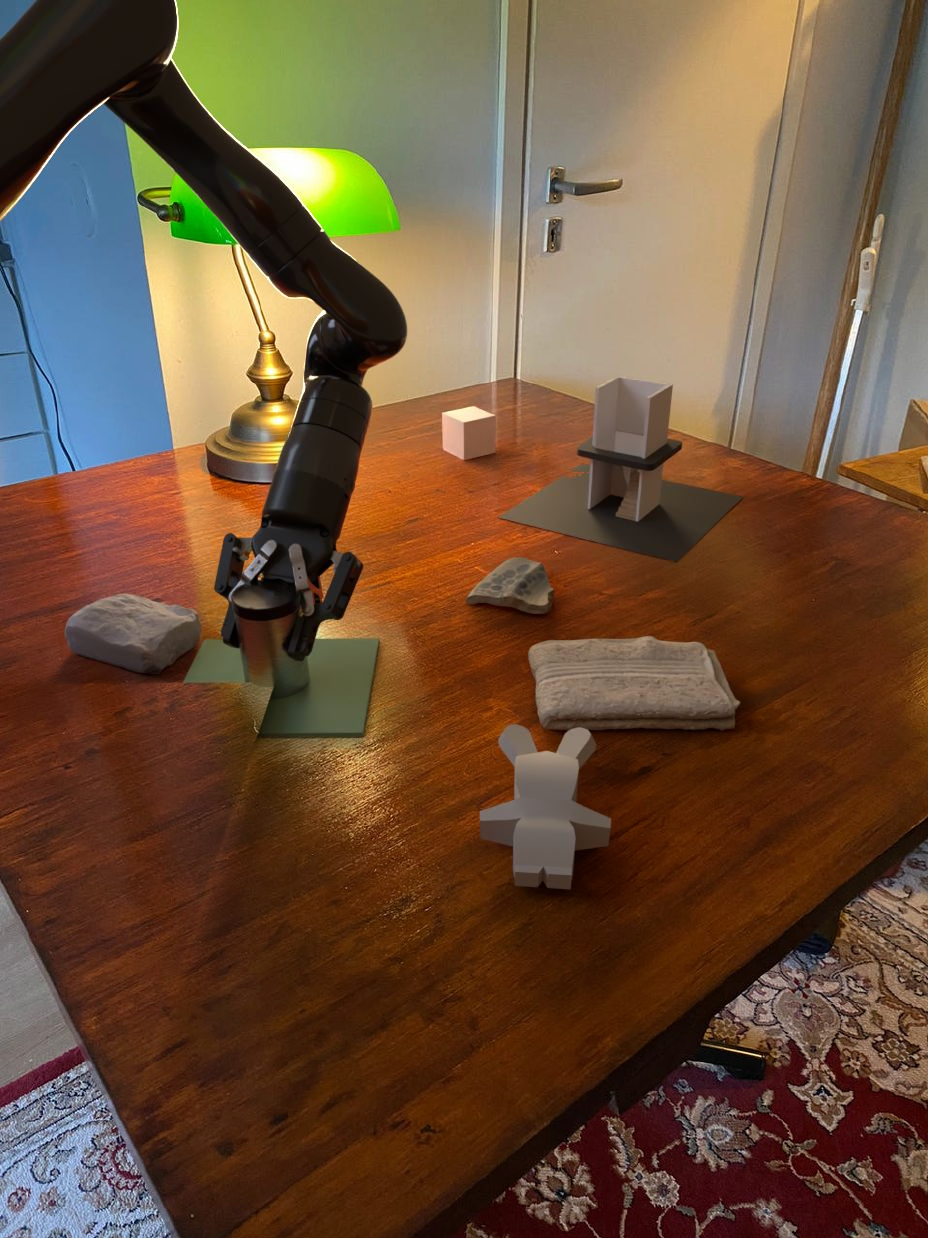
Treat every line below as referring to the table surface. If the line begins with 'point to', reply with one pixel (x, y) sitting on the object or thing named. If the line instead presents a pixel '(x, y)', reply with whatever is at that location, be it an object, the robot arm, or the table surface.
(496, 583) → the ceramic fragment
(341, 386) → the robot arm
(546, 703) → the washcloth
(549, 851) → the bunny figurine
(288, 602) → the thermos cup
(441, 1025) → the table surface
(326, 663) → the mat
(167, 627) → the stone block
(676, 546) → the box stand
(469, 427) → the white cube
